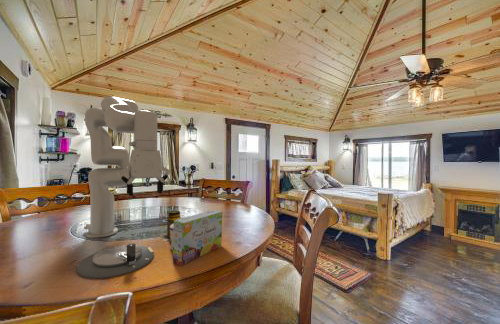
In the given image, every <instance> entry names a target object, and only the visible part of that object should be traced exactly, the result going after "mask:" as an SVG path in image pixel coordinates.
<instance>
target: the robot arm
mask: <svg viewBox="0 0 500 324" xmlns="http://www.w3.org/2000/svg"><path fill="white" fill-rule="evenodd" d="M84 122H85V126H86V129H87V131H88V134H89V138H90V155H91V156H90V157H91V161H92V164H93V165H95V166H116V167H100V168H99V167H98V168H94V169H91V170H90V172H88V175H87V179H88V184H89V191H90V193H89V194H90V210H89V211H90V214H89V215H90V222H89V223H87V224H85V226H84V227H83V229H84V230H87V232H86V233H85V236H86V238H91V239H95V238H96V239H97V238H99V239H100V238H104V237H109V236H113V235H115V234H117V233H118V231H119V230H118V228H117V227H115V195H114V193H113V192H112V191H111V190H110V189H109V188H119V187H126V194H127V195H128V196H129V197H133V196H134V184H133V182H134V181H135V179H138V180H139V179H156V180H157V182H156V185H157V186H156V189H157V190H156V192H157V194H162V193H163V191H164V182H165V181H166V180H167V179H168V178H169V175H170V173H171V170H170V169H168V168H167V167H164V166H163V163H162V154H161V150H158V115H157V114H156V112H154V111H150V110H143V109H141V110H139V106H138V104H137V103H136V102H135V101H133V100H130V99H127V98H126V99H125V98H121V97H118V96H106V97H104V98H103V99H102V100H101V102H100V107H89V108H88V109H87V110H85V113H84ZM104 127H105V128H104ZM106 128H109V129H110V130H112V131H114V132H116V133H124V134H133V141H131V142H128V146H129V147H132V148H133V149H131V152H130V154H129V151H128V150H127V148H125V147H123V146H113V143H112V135H110V133H109V131H108V130H106ZM163 172H164V175H163Z"/></svg>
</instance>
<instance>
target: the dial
mask: <svg viewBox="0 0 500 324" xmlns="http://www.w3.org/2000/svg"><path fill="white" fill-rule="evenodd" d="M137 245H138V244H136V243H128V244H122V245H115V246H111V247H108V248H104V249H101V250H100V251H97V252H98V253H97V252H95V253H96V254H95V255H94V256H93V265H94V266H97V267H103V268H107V267H116V266H121V265H125V264H127V265H132V264H134V263H136V260H137V259H138V258H139V257H140V256H141V255H142V248H141V247H140V246H141V245H140V246H137Z"/></svg>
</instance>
